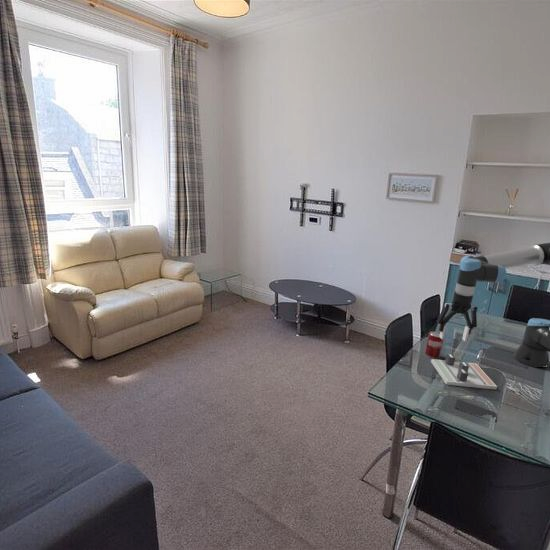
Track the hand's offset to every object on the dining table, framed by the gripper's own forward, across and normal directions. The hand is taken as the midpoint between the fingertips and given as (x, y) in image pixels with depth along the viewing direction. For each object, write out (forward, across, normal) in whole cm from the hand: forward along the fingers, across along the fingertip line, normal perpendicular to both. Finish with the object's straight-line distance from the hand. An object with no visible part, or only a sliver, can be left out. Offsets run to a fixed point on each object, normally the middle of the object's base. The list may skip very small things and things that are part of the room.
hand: (452, 339), depth 170 cm
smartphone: (+18, -2, +28) cm, 33 cm away
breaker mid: (+16, -8, 0) cm, 18 cm away
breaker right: (+16, -5, +7) cm, 18 cm away
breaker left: (+16, -4, -7) cm, 18 cm away
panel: (+18, -8, 0) cm, 19 cm away
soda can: (+18, 0, -17) cm, 25 cm away
